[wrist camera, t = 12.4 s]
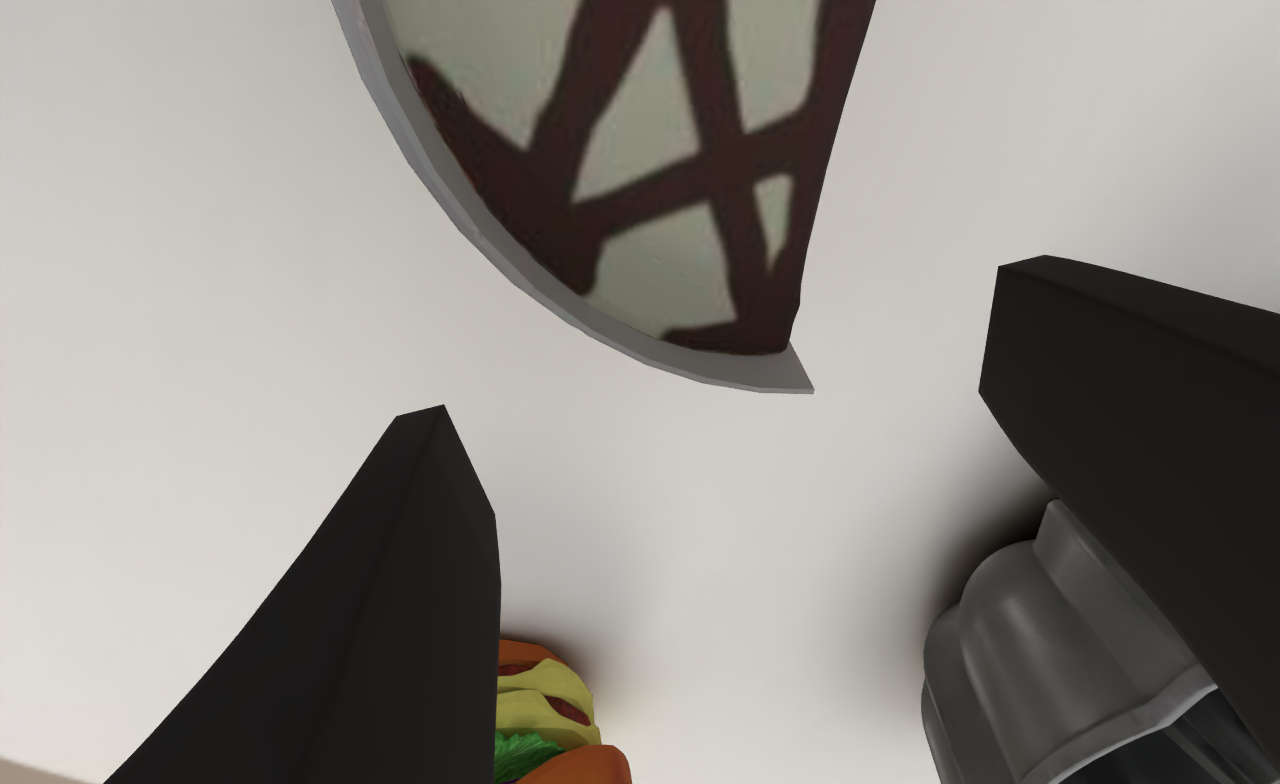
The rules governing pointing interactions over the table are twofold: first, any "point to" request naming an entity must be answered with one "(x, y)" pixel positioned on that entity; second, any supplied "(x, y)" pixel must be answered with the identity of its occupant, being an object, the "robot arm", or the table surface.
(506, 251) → the food container
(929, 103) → the table surface
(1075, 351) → the robot arm
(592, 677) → the table surface
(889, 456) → the table surface
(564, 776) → the cheeseburger
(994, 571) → the bundt pan
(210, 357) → the table surface
